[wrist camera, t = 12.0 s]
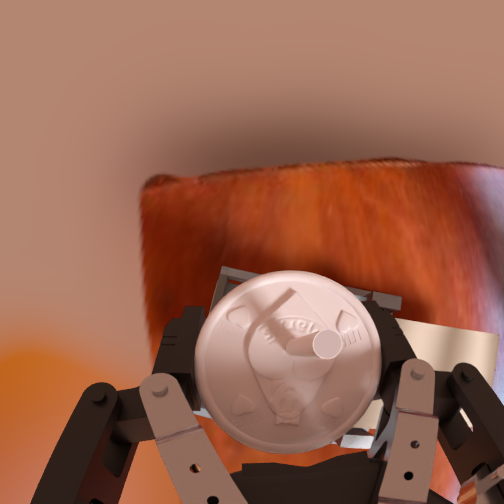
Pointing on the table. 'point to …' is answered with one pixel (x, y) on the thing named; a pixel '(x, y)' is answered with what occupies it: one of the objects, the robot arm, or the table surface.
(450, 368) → the balance beam
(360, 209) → the table surface
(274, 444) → the smoothie
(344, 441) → the pivot stand
